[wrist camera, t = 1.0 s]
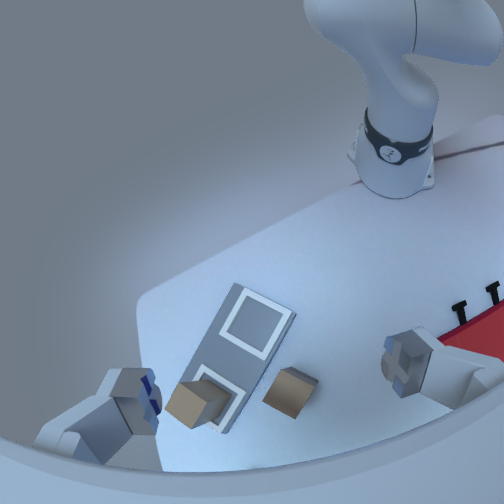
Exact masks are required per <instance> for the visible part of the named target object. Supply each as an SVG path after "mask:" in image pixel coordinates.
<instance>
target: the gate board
mask: <svg viewBox="0 0 504 504" xmlns="http://www.w3.org/2000/svg"><path fill="white" fill-rule="evenodd" d="M295 316H296V314H295V313H293V312H292V311H290V310H288V309H286V308H284V307H282V306H280V305H278V304H276V303H274V302H272V301H270V300H268V299H266V298H264V297H262V296H260V295H259V294H257V293H255V292H253V291H251V290H249V289H247V288H245V287H242V286H240V285H238V284H236V283H234V284H233V286H232V288H231V289H230V291H229V293H228V295H227V297H226V298H225V300H224V302H223V304H222V306H221V307H220V309H219V311H218V313H217V314H216V316H215V318H214V320H213V322H212V323H211V325H210V327H209V329H208V331H207V332H206V334H205V336H204V338H203V340H202V341H201V343H200V345H199V347H198V349H197V350H196V352H195V354H194V356H193V357H192V359H191V361H190V363H189V365H188V366H187V368H186V370H185V372H184V374H183V375H182V377H181V379H180V381H179V383H178V384H177V386H176V388H175V390H174V391H173V393H172V395H171V398H170V400H169V401H168V403H167V405H166V407H165V410H166V411H168V412H169V413H170V414H171V415H173V416H174V417H175V418H176V419H178V420H179V421H180V422H182V423H183V424H184V425H186V426H187V427H189V428H190V429H193V428H196V427H198V426H200V425H203V424H206V425H208V426H209V427H210V428H212V429H213V430H215V431H216V432H218V433H220V434H221V433H224V434H226V433H227V432H228V431H229V429H230V428H231V426H232V425H233V423H234V422H235V420H236V418H237V417H238V415H239V414H240V412H241V410H242V409H243V407H244V406H245V404H246V402H247V401H248V399H249V397H250V396H251V394H252V392H253V391H254V389H255V387H256V386H257V384H258V382H259V381H260V379H261V377H262V375H263V374H264V372H265V370H266V369H267V367H268V365H269V363H270V362H271V360H272V358H273V356H274V355H275V353H276V351H277V349H278V347H279V346H280V344H281V342H282V340H283V338H284V337H285V335H286V333H287V331H288V329H289V327H290V326H291V324H292V322H293V320H294V318H295Z"/></svg>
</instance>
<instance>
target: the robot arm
mask: <svg viewBox="0 0 504 504" xmlns="http://www.w3.org/2000/svg"><path fill="white" fill-rule="evenodd" d="M304 11H305V15H306V17H307V20H308V21H309V23H310V25H311V26H312V28H313V29H314V30H315V31H316V32H317V33H318V34H319V35H320V36H321V37H322V38H323V39H325V40H327V41H329V42H331V43H332V44H334V45H336V46H338V47H339V48H340V49H342V50H343V51H344V52H346V53H347V54H348V55H349V56H350V57H351V58H352V59H353V60H354V61H355V63H356V64H357V65H358V66H359V68H360V70H361V71H362V73H363V75H364V78H365V81H366V88H367V99H368V107H367V108H366V111H365V117H364V124H361V125H360V127H359V130H357V134H356V141H355V142H354V144H353V145H352V146H351V147H350V149H349V150H348V154H347V155H348V158H349V159H350V160H351V161H352V162H353V163H354V164H355V166H356V169H357V172H358V174H359V177H360V178H361V180H362V182H363V183H364V184H365V185H366V186H367V187H368V188H369V189H371V190H372V191H374V192H375V193H377V194H379V195H382V196H384V197H388V198H405V197H409V196H411V195H413V194H415V193H416V192H418V191H420V190H424V189H430V188H432V187H433V186H434V152H433V137H432V135H433V120H434V116H435V112H436V108H437V104H438V100H439V99H438V98H439V96H438V90H437V87H436V84H435V83H434V81H433V80H432V78H431V77H430V76H429V75H428V74H427V73H426V71H424V70H423V69H422V68H421V67H420V66H418V65H417V64H415V63H413V62H412V61H410V60H409V59H407V58H406V57H405V56H404V54H411V53H412V54H417V55H423V56H428V57H432V58H437V59H441V60H446V61H449V62H453V63H458V64H467V65H478V66H490V65H491V64H492V63H493V62H495V61H496V60H497V58H498V56H499V55H500V53H501V51H502V47H503V33H502V28H501V25H500V22H499V20H498V18H497V16H496V15H495V13H494V11H493V10H492V8H491V7H490V6H489V5H488V4H487V3H486V2H485V1H484V0H304ZM428 177H430V178H428ZM384 347H385V349H386V350H387V351H386V352H385V354H384V355H383V356H382V362H381V366H382V372H383V374H384V376H385V378H386V379H387V380H389V381H391V382H393V389H394V390H395V392H396V393H397V394H398V396H399V397H400V398H403V397H406V396H409V395H412V394H415V393H418V392H420V393H421V394H423V395H425V396H427V397H429V398H431V399H433V400H435V401H437V402H439V403H441V404H443V405H445V406H447V407H449V408H451V409H453V410H454V411H452V412H450V413H448V414H446V415H444V416H441V417H439V418H437V419H435V420H433V421H431V422H429V423H426V424H424V425H422V426H419V427H417V428H415V429H412V430H410V431H407V432H405V433H402V434H400V435H397V436H394V437H392V438H389V439H386V440H383V441H380V442H377V443H374V444H371V445H368V446H365V447H362V448H358V449H355V450H351V451H348V452H344V453H340V454H337V455H333V456H328V457H324V458H320V459H315V460H310V461H305V462H300V463H295V464H289V465H283V466H276V467H269V468H260V469H251V470H240V471H225V472H164V471H149V470H137V469H129V468H121V467H113V466H108V465H104V464H105V463H106V462H107V461H108V460H109V459H110V458H112V456H113V455H114V454H116V452H118V451H119V449H120V448H121V447H122V446H123V445H124V444H125V443H126V442H127V441H128V440H129V439H130V438H131V437H132V436H133V435H156V433H157V428H158V424H159V420H158V418H157V415H159V414H160V413H161V410H162V396H161V392H160V389H159V387H158V386H157V385H155V384H154V381H155V378H156V377H155V375H154V372H153V370H152V369H151V368H110V369H109V370H108V372H107V374H106V376H105V378H104V380H103V382H102V384H101V386H100V388H99V390H98V391H97V393H96V396H90V397H89V398H87V399H85V400H84V401H82V402H81V403H79V404H77V405H76V406H74V407H72V408H71V409H69V410H68V411H66V412H64V413H63V414H61V415H59V416H58V417H56V418H55V419H53V420H51V421H50V422H48V423H46V424H45V425H44V426H43V428H42V429H41V431H40V433H39V435H38V436H37V438H36V440H35V442H34V444H33V445H32V447H30V446H27V445H24V444H21V443H18V442H15V441H13V440H10V439H8V438H5V437H2V436H0V504H504V363H503V362H502V361H501V360H500V359H499V358H495V357H491V356H487V355H483V354H479V353H475V352H471V351H468V350H464V349H460V348H456V347H452V346H449V345H448V346H446V347H445V346H444V345H443V344H442V343H441V342H440V341H439V340H438V339H436V338H435V337H434V336H433V335H432V334H431V333H429V332H428V331H427V330H426V329H425V328H424V327H418V328H415V329H411V330H409V331H406V332H403V333H399V334H395V335H392V336H388V337H387V338H386V340H385V343H384Z"/></svg>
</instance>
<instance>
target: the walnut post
mask: <svg viewBox="0 0 504 504" xmlns="http://www.w3.org/2000/svg"><path fill="white" fill-rule="evenodd" d="M317 383H318V380H316V379H314V378H312V377H310V376H308V375H306V374H304V373H303V372H301V371H299V370H297V369H295V368H293V367H289V368H285V369H281V370H280V372H279V374H278V375H277V377H276V379H275V381H274V382H273V384H272V386H271V387H270V389H269V391H268V392H267V394H266V396H265V397H264V399H263V402H264V403H266V404H268V405H270V406H272V407H273V408H275V409H277V410H279V411H281V412H283V413H284V414H286V415H288V416H290V417H292V418H294V419H296V417H297V416H298V414H299V412H300V411H301V409H302V408H303V406H304V404H305V403H306V401H307V400H308V398H309V396H310V395H311V393H312V391H313V389H314V388H315V386H316V384H317Z"/></svg>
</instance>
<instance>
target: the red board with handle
mask: <svg viewBox="0 0 504 504" xmlns="http://www.w3.org/2000/svg"><path fill="white" fill-rule="evenodd" d="M498 286H500V284H499V282H498V281H496V282H494V283H493V284H491V285H489V286H488V287H486V291H487V292H489V291H491V294H492V299H493V304H494V306H492V307H491V308H489V309H488V310H486V311H484V312H483V313H481V314H480V315H478V316H476V317H475V318H473V319H471V320H469V321H468V322H467V321H466V316H465V311H464V306H466V305H467V303H466V300H464V301H462V302H459V303H458V304H456V305H454V306H452V310H453V312H454V311H456V310H457V311H458V316H459V321H460V325H461V326H459V327H457V328H455V329H453V330H452V331H450V332H448V333H446V334H444V335H442V336H440V337H438V338H436V339H438V340H439V341H440V342H441V343H442V344H443V345H444V346H445V347H446V346H448V345H449V346H452V347H456V348H460V349H464V350H468V351H471V352H475V353H479V354H483V355H487V356H491V357H495V358H499V359H500V360H501V361H502V362H503V363H504V299H503V300H502V301H500V302H499V296H498V291H497V287H498Z"/></svg>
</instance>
